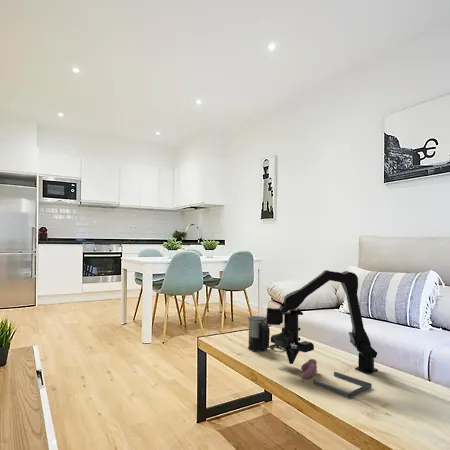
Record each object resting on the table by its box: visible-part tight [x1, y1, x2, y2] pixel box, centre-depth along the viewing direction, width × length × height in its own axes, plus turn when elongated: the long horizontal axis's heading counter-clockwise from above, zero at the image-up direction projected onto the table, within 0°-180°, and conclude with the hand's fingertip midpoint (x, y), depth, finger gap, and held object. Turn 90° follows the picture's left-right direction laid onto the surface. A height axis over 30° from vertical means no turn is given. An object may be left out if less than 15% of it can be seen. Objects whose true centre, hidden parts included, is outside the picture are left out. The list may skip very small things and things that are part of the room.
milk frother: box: [247, 315, 281, 352], centre depth 168 cm, size 14×16×15 cm
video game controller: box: [300, 358, 318, 379], centre depth 135 cm, size 10×5×7 cm, turn 169°
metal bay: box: [312, 371, 373, 399], centre depth 124 cm, size 14×15×2 cm
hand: (291, 363), depth 142 cm, fingers closed
